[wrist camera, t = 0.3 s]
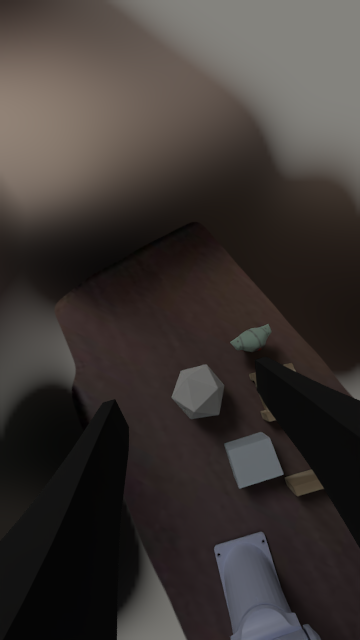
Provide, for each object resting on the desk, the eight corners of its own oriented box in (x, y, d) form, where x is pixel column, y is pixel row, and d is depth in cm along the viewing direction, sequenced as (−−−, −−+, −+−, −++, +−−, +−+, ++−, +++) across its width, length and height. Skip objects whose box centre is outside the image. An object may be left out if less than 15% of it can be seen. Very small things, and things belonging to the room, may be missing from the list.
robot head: (257, 328, 40) (270, 317, 33) (268, 345, 38) (284, 337, 32) (224, 344, 39) (230, 336, 33) (234, 362, 38) (242, 357, 31)
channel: (333, 472, 31) (347, 481, 28) (287, 486, 31) (297, 496, 28) (286, 364, 37) (293, 362, 34) (247, 374, 37) (251, 374, 34)
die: (173, 370, 39) (156, 404, 30) (206, 348, 35) (198, 378, 26) (198, 399, 39) (190, 441, 30) (233, 380, 36) (235, 420, 27)
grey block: (273, 463, 32) (283, 474, 28) (234, 476, 32) (239, 488, 28) (261, 431, 34) (269, 437, 30) (223, 443, 34) (227, 450, 30)
